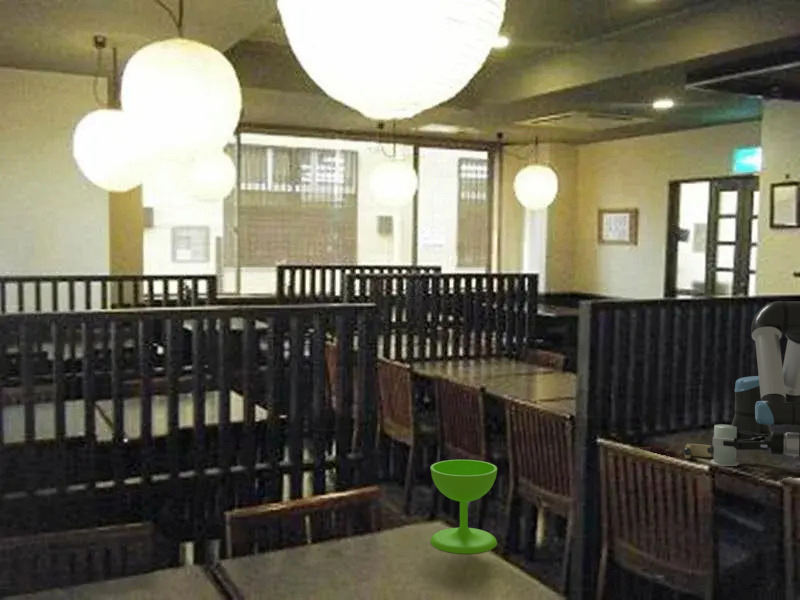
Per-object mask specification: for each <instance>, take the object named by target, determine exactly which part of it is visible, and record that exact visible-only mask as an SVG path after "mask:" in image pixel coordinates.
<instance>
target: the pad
mask: <svg viewBox="0 0 800 600" xmlns="http://www.w3.org/2000/svg"><path fill="white" fill-rule="evenodd" d="M709 463H710V464H711V465H713V466H717V467H723V466H736V467H738V466H737V465H739V466H740V462H739V461H737V460H736V464H719V463H716V462H714V461H713V459H710V460H709Z"/></svg>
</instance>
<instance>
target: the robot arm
mask: <svg viewBox="0 0 800 600" xmlns="http://www.w3.org/2000/svg"><path fill="white" fill-rule="evenodd" d="M750 326H751V328H750V333H751V339H752V340H753V341H755V342H754V343H755V350H756V351H755V352H756V362H757V372H758V373H757V374H758V375H755V376H753V375H752V376H751V375H750V376H744V377H741V378H738V379H736V381H735V388H734V392H735V393H734V394H735V395H734V416H733V420H732V423H731V425H732V426H736V427H737V438H734V439H727V438H715V437H714V436H712V445H711V446H712V447H714V446H720V447H731V448H736V451H737V450H738V451H740V450H744V451H746V450H749V451H751V450H755V451H756V450H761V451H763V450H764V451H767V450H768V448H770V453H771V454H772V455H779V456H782V455H784V454H785V456H791V457H792V458H794V459H796V458H797V457H800V432H792V431H786V432H785V433H784V432H783V431H777V430H772V428H771V426H791V427H792V426H793V427H800V301H793V300H791V301H789V300H788V301H787V300H786V301H783V300H777V301H773V302H769V303H767V304H765V305H763V307H762V308H761V309H759V311H757V313H756V314H755V315H754V318H753V319H752V323H751V325H750ZM783 335H785V337H786V338H787V342H786V349H785V353H784V359H783V361H782V353H781V352H782V351H781V345H780V339H781V338H782V336H783Z"/></svg>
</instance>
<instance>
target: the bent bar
mask: <svg viewBox="0 0 800 600" xmlns="http://www.w3.org/2000/svg"><path fill="white" fill-rule="evenodd" d="M682 451H683V454H684V459H687V460H690V459H691V458H692V457H701V458H711V457H712V454H713V455H714V446H712V445H711V444H701V443H700V444H699V443H689V442H686V445H685V446H684V449H683V450H682Z"/></svg>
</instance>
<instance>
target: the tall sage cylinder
mask: <svg viewBox="0 0 800 600" xmlns="http://www.w3.org/2000/svg"><path fill="white" fill-rule="evenodd" d="M713 428H714V429H713V437H715V438H727V439H734V438H737V427H736V426H732V424H723V423H721V424H714V427H713ZM713 448H714V453H713V457H712V458H713V461H714V462H716V463H719V464H736V461H737V449H736V448H731V447H720V446H713Z"/></svg>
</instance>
